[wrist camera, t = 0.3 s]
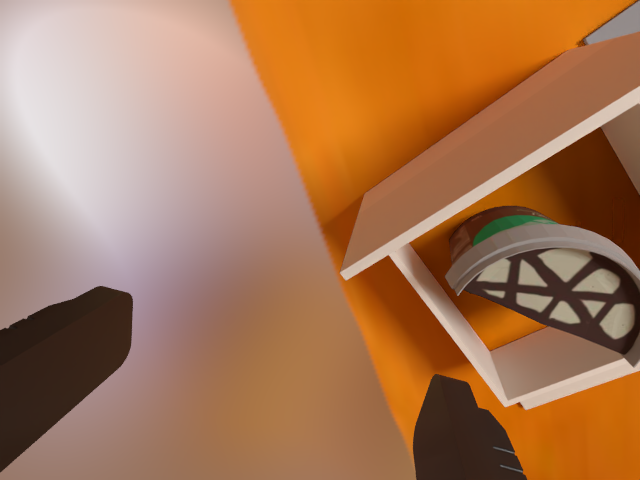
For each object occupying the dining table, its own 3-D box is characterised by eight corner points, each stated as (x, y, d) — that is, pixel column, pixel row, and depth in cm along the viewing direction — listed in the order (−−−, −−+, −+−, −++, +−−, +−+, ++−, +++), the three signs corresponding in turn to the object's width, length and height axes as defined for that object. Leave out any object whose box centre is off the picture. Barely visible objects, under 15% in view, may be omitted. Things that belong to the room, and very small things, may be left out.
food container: (617, 226, 28) (726, 290, 19) (568, 288, 30) (643, 371, 21) (468, 167, 28) (503, 202, 19) (432, 233, 31) (448, 292, 22)
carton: (567, 50, 24) (790, -9, 10) (728, 335, 29) (1022, 547, 15) (364, 193, 30) (339, 272, 17) (524, 406, 35) (605, 601, 22)
